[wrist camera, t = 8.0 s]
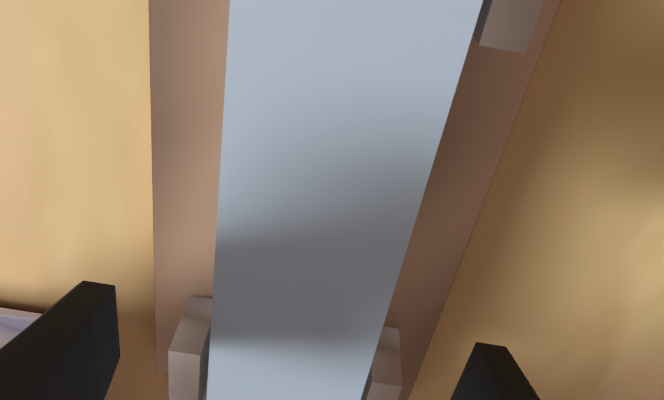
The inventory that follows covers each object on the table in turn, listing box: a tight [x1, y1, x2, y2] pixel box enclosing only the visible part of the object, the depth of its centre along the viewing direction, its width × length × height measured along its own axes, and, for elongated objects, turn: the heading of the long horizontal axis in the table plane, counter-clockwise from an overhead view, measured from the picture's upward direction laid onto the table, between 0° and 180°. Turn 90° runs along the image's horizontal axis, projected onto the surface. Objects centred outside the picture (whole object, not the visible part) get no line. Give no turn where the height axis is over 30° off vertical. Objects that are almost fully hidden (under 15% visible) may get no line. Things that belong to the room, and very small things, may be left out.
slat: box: [206, 0, 483, 400], centre depth 14 cm, size 4×15×6 cm, turn 171°
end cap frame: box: [149, 0, 561, 400], centre depth 16 cm, size 10×20×4 cm, turn 171°
